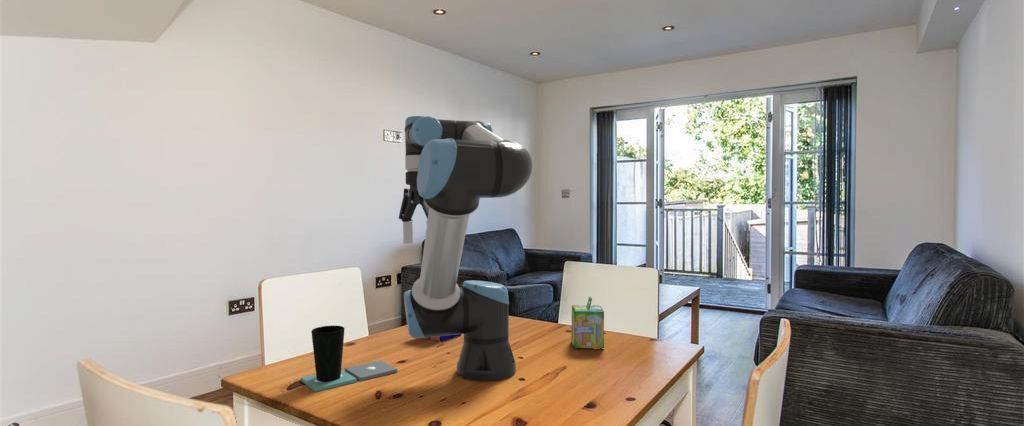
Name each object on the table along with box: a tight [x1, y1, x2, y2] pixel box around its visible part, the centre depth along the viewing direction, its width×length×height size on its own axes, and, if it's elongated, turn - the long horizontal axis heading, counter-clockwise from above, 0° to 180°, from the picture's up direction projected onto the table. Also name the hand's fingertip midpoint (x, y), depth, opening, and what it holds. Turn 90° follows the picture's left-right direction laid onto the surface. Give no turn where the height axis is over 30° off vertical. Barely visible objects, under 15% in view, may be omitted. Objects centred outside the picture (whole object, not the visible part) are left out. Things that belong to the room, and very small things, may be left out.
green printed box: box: [570, 296, 605, 349], centre depth 154 cm, size 9×9×15 cm
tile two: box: [300, 368, 358, 393], centre depth 124 cm, size 10×10×1 cm
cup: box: [310, 325, 345, 382], centre depth 124 cm, size 8×8×12 cm
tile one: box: [344, 359, 399, 382], centre depth 131 cm, size 10×10×1 cm
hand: (419, 244), depth 145 cm, fingers open, 13 cm apart
